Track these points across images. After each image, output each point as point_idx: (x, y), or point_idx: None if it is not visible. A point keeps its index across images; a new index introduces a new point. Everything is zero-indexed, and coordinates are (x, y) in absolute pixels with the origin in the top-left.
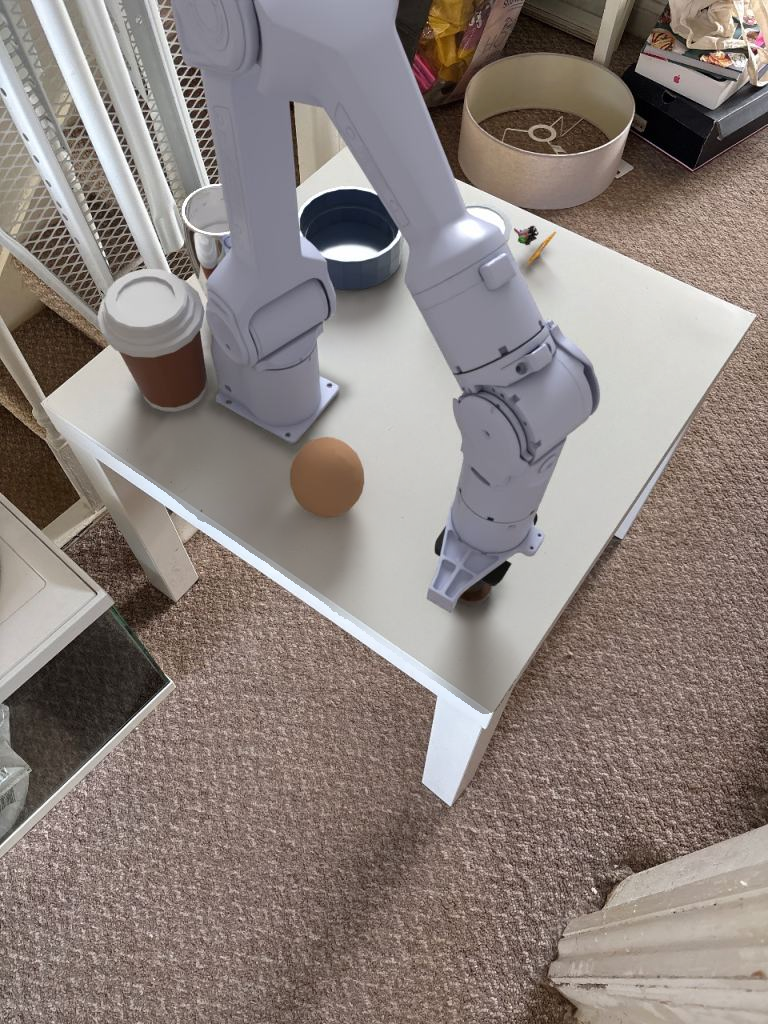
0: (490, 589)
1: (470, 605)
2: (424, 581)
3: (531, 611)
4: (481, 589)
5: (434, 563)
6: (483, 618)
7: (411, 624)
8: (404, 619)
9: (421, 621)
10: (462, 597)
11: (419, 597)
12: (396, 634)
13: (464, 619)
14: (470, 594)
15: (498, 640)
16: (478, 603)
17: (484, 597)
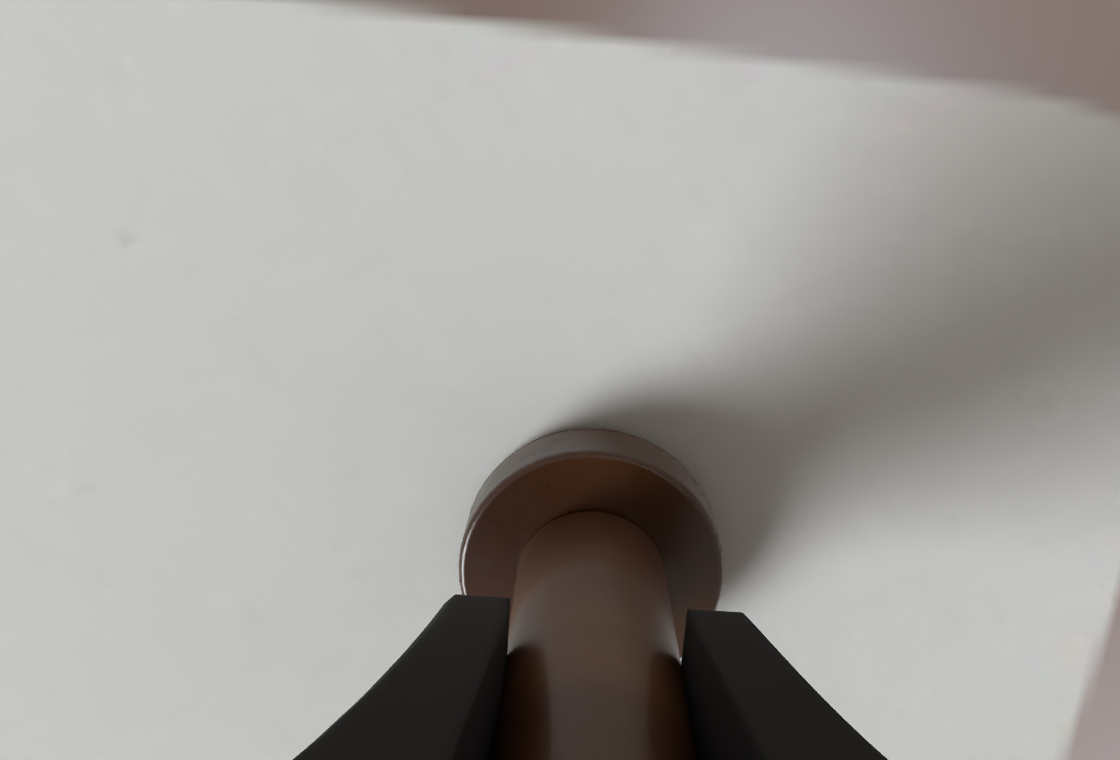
0: (575, 455)
1: (704, 496)
2: None
3: (549, 147)
4: (606, 505)
5: None
6: (737, 392)
7: (948, 709)
8: (936, 749)
9: (909, 674)
10: (713, 580)
11: None
12: (1034, 748)
13: (794, 484)
14: (669, 546)
15: (832, 254)
16: (677, 466)
17: (646, 466)
